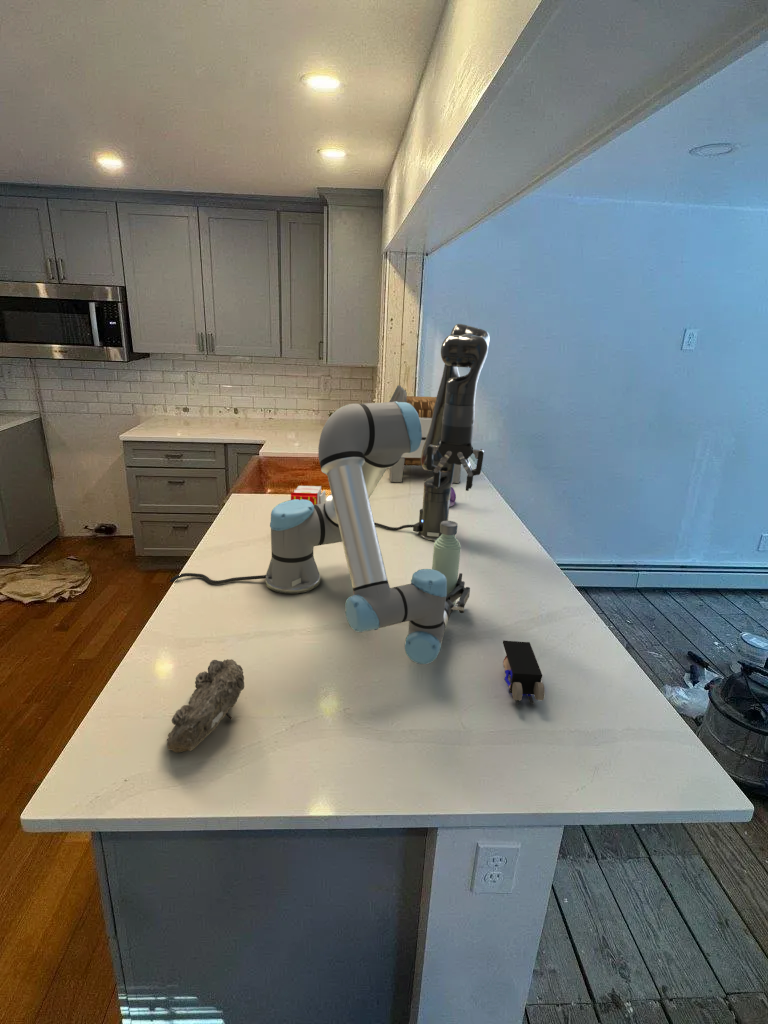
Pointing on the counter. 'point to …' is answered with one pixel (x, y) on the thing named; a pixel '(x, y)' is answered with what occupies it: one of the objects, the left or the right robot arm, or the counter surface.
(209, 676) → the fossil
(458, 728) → the counter surface
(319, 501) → the toy
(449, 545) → the bottle
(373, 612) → the left robot arm
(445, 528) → the cap
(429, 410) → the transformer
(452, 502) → the figurine
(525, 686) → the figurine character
